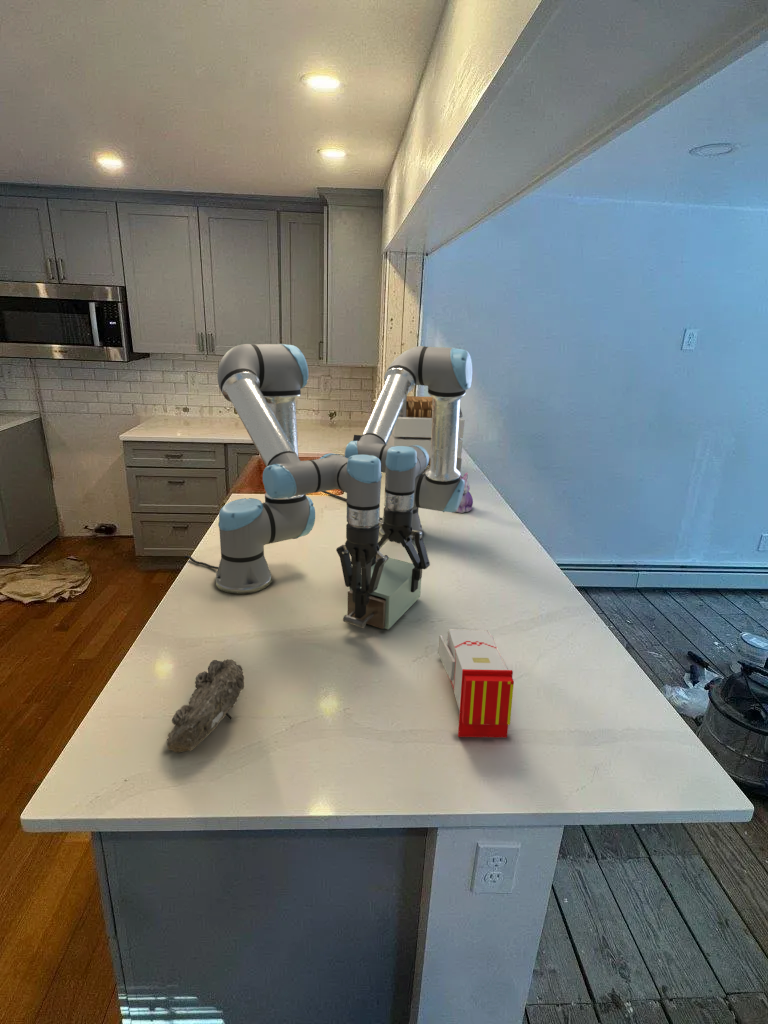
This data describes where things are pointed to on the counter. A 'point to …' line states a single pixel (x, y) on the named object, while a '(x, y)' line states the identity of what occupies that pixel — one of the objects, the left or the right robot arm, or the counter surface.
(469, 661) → the toy
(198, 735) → the fossil
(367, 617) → the drawer
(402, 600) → the cabinet
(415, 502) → the right robot arm
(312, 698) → the counter surface
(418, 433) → the white storage organizer
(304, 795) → the counter surface
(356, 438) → the figurine character
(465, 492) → the figurine
